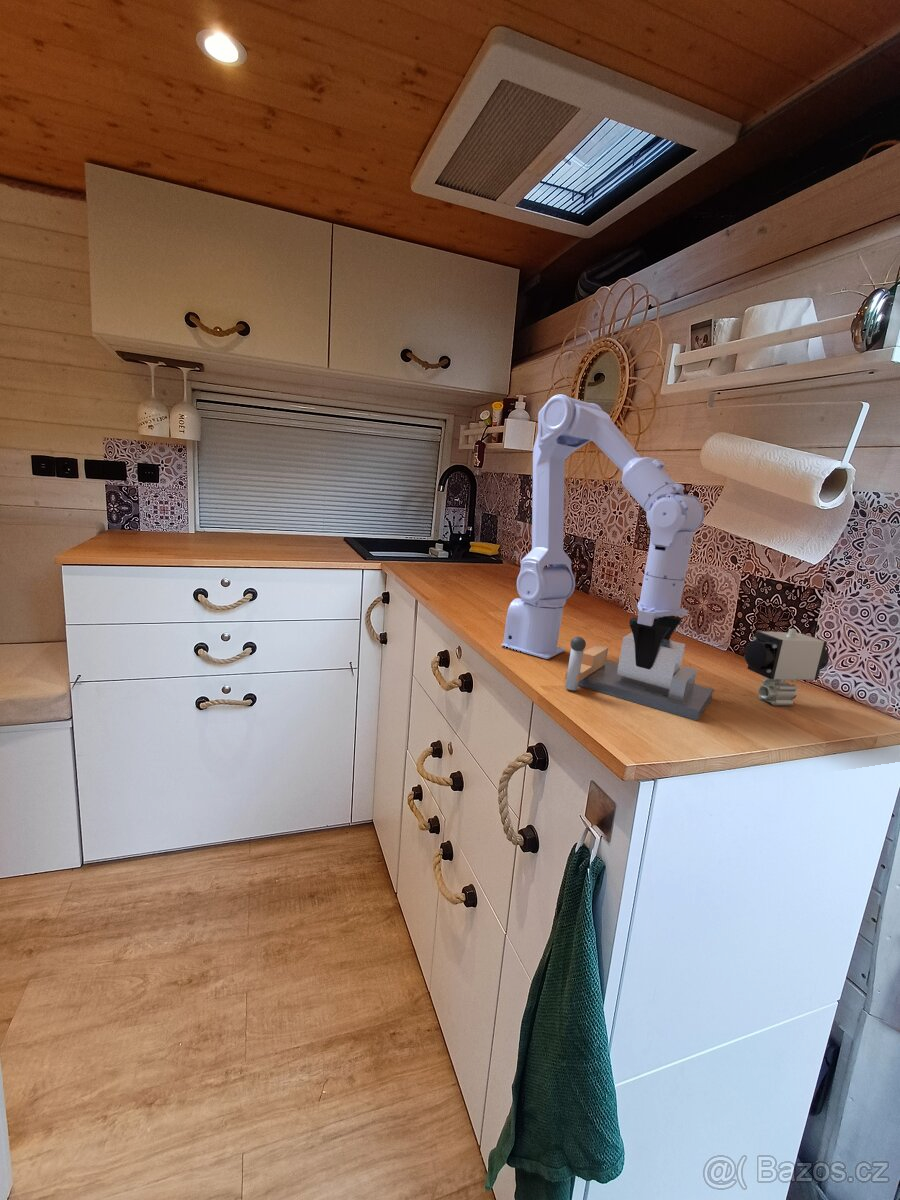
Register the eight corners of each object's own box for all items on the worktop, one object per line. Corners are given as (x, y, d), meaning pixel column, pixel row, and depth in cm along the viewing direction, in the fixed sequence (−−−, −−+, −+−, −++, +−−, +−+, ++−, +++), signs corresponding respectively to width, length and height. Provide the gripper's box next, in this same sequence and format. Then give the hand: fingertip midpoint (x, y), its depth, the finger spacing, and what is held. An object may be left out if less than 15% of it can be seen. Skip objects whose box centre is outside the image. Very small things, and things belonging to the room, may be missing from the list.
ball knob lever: (561, 687, 83) (569, 636, 81) (592, 668, 94) (599, 622, 92) (575, 692, 82) (583, 640, 80) (604, 671, 93) (612, 625, 91)
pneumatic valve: (817, 708, 87) (836, 635, 84) (755, 708, 84) (773, 632, 82) (789, 694, 92) (806, 625, 90) (729, 694, 89) (745, 622, 87)
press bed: (567, 682, 87) (572, 655, 86) (594, 666, 97) (598, 641, 96) (697, 720, 77) (703, 690, 76) (711, 698, 87) (717, 670, 86)
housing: (616, 674, 86) (623, 635, 84) (626, 667, 90) (632, 630, 89) (670, 689, 82) (678, 648, 80) (677, 681, 86) (685, 642, 84)
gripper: (682, 586, 74) (663, 681, 77) (701, 577, 86) (685, 660, 89) (629, 576, 78) (614, 668, 81) (655, 569, 90) (640, 649, 93)
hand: (648, 663), depth 85 cm, fingers closed on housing, 5 cm apart
